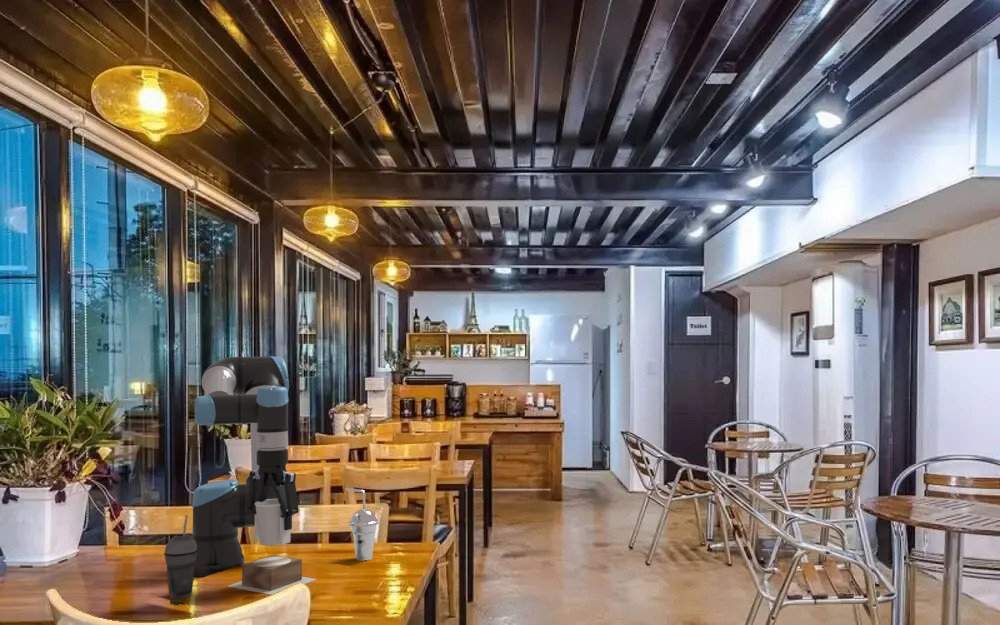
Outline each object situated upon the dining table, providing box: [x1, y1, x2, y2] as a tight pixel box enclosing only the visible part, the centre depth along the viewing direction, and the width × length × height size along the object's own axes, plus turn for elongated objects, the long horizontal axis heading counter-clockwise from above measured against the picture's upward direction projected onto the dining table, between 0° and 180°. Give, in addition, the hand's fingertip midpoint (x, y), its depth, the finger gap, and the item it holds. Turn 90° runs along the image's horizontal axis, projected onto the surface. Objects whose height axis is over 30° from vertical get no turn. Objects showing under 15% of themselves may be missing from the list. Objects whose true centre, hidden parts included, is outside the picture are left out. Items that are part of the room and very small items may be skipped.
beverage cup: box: [164, 514, 198, 606], centre depth 175 cm, size 7×7×20 cm
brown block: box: [241, 554, 303, 591], centre depth 183 cm, size 10×10×5 cm
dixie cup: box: [255, 499, 288, 546], centre depth 184 cm, size 8×8×10 cm
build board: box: [227, 576, 317, 596], centre depth 183 cm, size 16×14×2 cm
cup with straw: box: [344, 487, 380, 562], centre depth 210 cm, size 8×9×20 cm
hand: (272, 541), depth 184 cm, fingers closed on dixie cup, 8 cm apart
